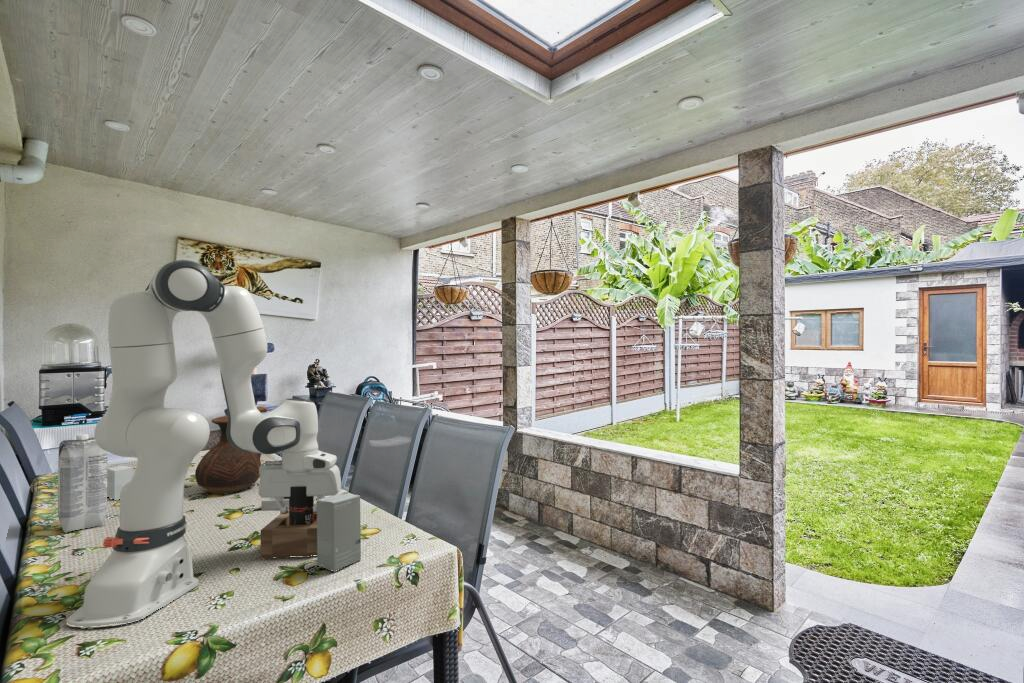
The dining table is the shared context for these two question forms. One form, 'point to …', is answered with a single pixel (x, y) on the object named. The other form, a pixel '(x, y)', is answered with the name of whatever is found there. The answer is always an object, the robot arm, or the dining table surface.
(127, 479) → the small box
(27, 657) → the dining table surface
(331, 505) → the skincare box
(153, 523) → the robot arm
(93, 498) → the juice carton
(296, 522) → the deodorant
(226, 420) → the jug
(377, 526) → the dining table surface
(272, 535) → the holder
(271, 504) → the watch tray
